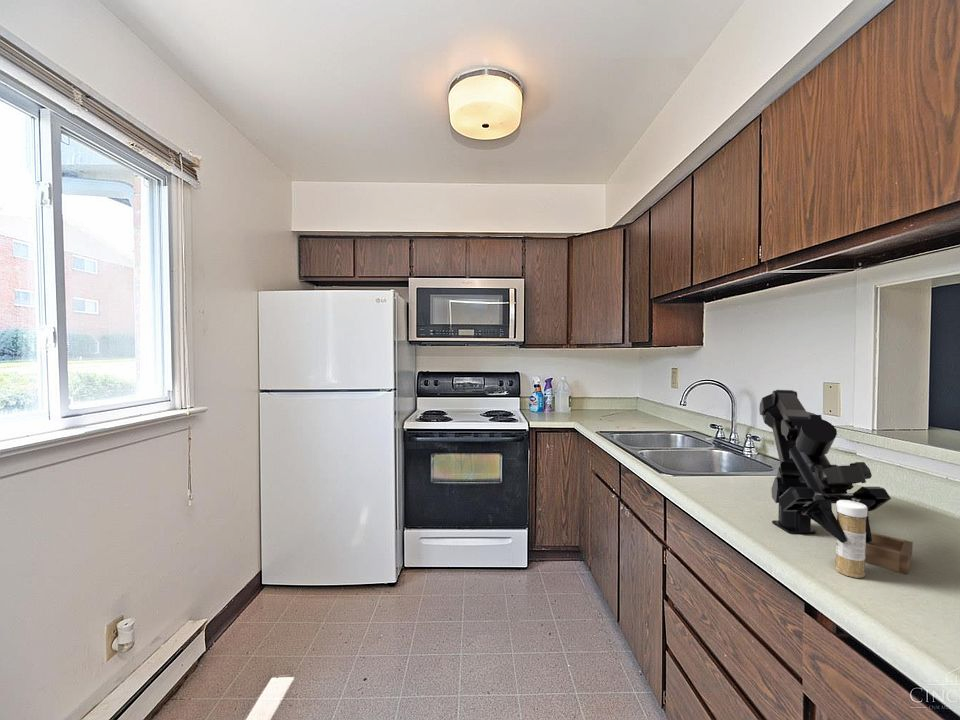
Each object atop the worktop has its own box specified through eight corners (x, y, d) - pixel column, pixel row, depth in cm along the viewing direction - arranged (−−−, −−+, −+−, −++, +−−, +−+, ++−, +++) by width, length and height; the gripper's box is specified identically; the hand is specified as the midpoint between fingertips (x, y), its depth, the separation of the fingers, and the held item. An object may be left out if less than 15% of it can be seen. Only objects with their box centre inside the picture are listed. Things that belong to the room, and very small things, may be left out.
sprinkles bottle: (835, 564, 89) (837, 497, 88) (866, 572, 86) (868, 502, 85) (833, 573, 86) (835, 503, 85) (864, 581, 82) (867, 509, 82)
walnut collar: (847, 557, 92) (847, 540, 92) (855, 544, 98) (855, 528, 98) (907, 574, 85) (908, 555, 85) (912, 559, 91) (912, 542, 91)
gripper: (789, 446, 89) (832, 524, 78) (883, 446, 89) (939, 524, 78) (763, 474, 97) (798, 548, 86) (849, 474, 97) (895, 548, 86)
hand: (857, 541), depth 84 cm, fingers closed on sprinkles bottle, 4 cm apart
